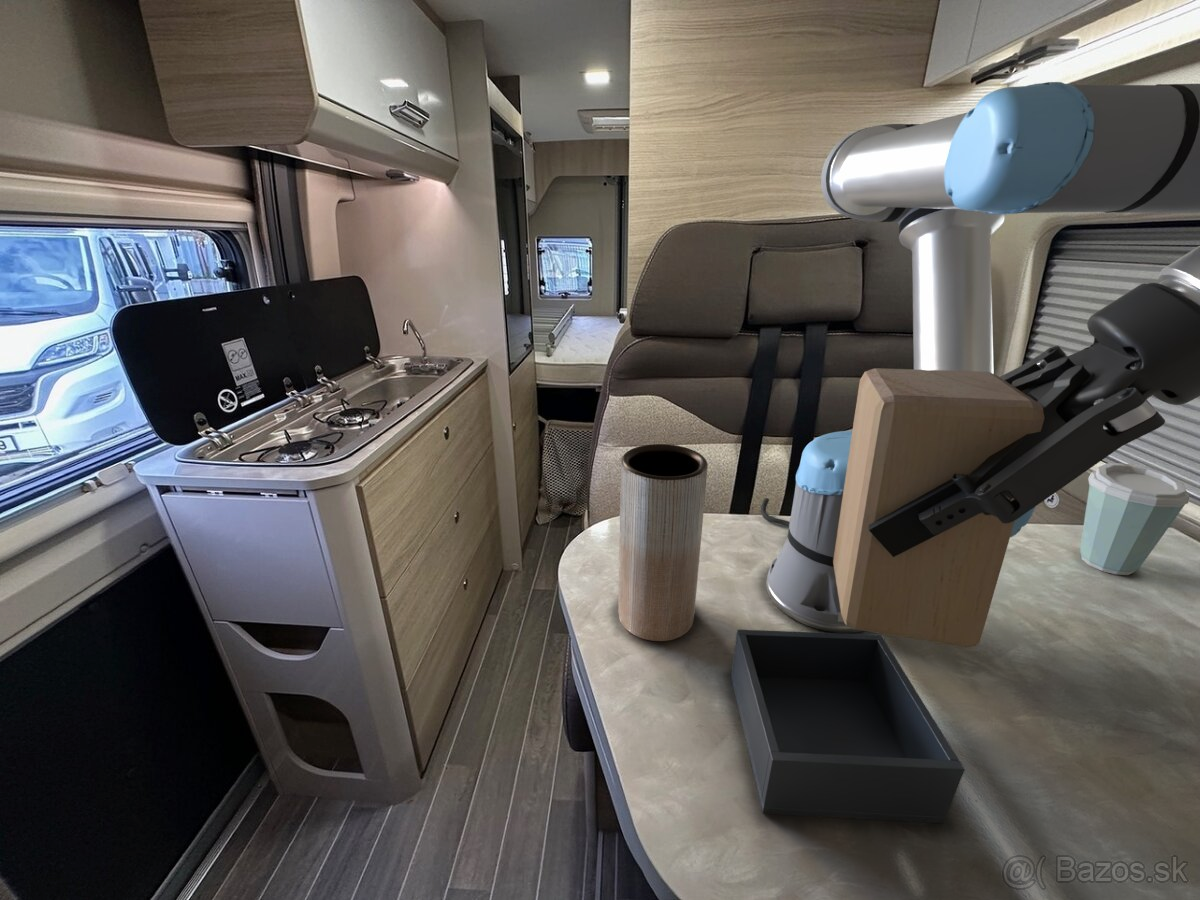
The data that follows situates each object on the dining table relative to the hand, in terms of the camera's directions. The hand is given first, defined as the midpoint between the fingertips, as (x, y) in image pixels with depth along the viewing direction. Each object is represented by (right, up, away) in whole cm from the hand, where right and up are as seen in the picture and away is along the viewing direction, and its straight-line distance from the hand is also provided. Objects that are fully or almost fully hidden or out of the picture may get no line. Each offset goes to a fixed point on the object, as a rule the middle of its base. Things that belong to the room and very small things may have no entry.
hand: (876, 507), depth 44 cm
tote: (-1, -24, +9) cm, 26 cm away
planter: (-16, -17, +26) cm, 35 cm away
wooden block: (+3, -9, +2) cm, 10 cm away
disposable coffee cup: (+55, -13, +38) cm, 68 cm away
